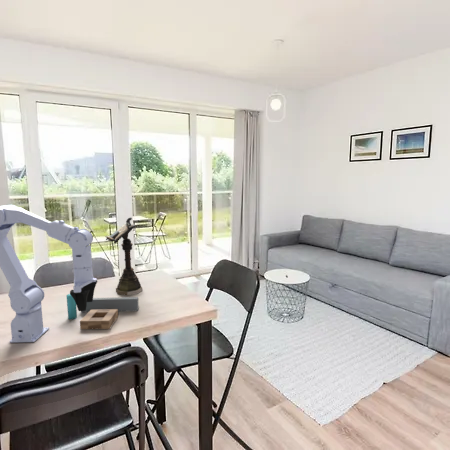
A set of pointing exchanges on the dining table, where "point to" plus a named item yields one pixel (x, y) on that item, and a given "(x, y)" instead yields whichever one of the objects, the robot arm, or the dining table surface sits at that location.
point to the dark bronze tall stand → (126, 262)
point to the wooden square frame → (99, 319)
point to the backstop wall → (113, 304)
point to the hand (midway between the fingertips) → (85, 306)
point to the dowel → (71, 307)
